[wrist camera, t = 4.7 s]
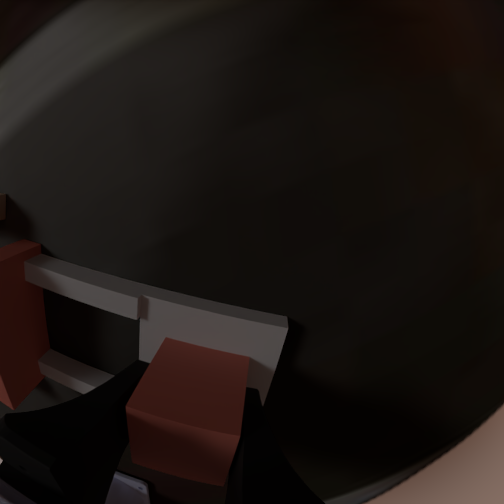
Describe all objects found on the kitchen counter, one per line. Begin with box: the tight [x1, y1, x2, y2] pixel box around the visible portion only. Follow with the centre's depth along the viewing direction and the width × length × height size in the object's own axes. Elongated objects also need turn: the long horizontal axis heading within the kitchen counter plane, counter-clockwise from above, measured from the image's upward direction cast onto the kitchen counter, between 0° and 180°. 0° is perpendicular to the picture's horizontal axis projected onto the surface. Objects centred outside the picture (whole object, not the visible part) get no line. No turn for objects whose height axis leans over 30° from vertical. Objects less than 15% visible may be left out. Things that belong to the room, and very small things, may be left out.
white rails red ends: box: [0, 239, 288, 486], centre depth 11 cm, size 8×14×5 cm, turn 78°
